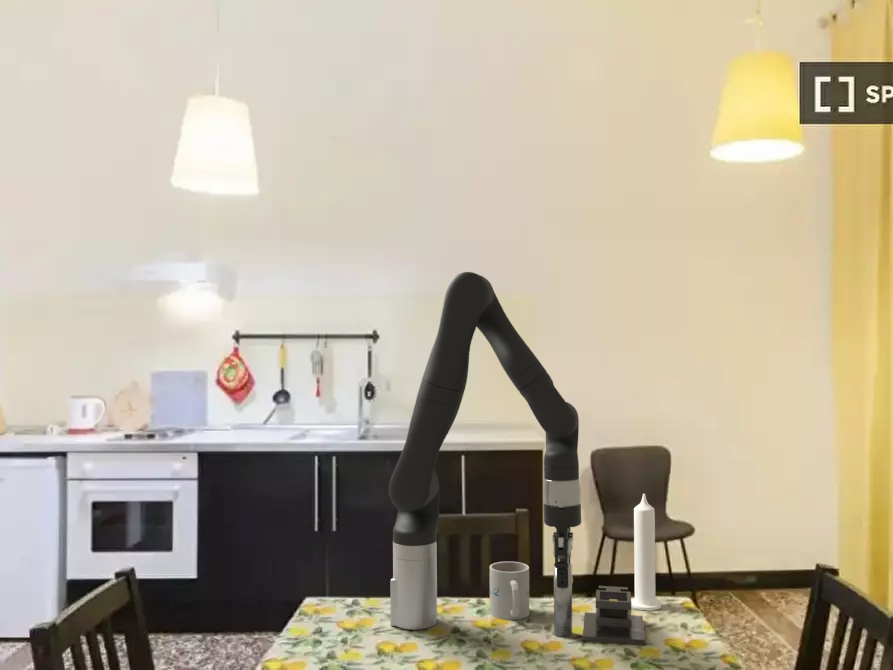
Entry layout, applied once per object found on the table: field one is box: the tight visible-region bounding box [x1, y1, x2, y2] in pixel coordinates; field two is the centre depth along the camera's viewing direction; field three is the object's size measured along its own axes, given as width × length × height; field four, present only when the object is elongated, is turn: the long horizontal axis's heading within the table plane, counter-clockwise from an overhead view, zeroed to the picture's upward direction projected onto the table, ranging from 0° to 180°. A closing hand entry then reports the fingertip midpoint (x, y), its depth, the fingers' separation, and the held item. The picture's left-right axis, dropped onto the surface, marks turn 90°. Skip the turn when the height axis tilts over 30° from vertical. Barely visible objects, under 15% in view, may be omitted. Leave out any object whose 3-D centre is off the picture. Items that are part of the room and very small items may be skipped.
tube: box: [553, 562, 574, 638], centre depth 160 cm, size 4×4×14 cm
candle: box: [631, 493, 662, 612], centre depth 178 cm, size 7×7×25 cm
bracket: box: [582, 585, 646, 646], centre depth 162 cm, size 12×14×7 cm
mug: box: [489, 561, 530, 621], centre depth 172 cm, size 12×9×10 cm
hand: (563, 581), depth 160 cm, fingers open, 8 cm apart
